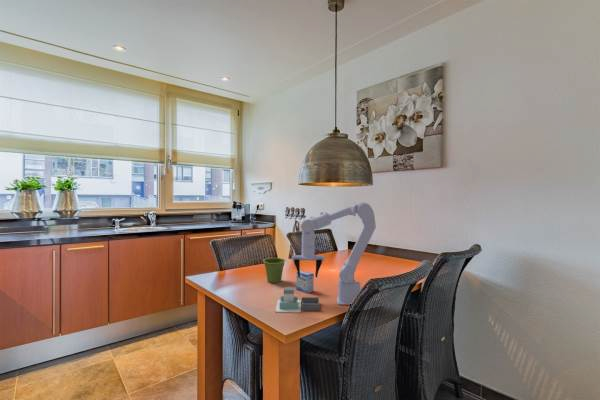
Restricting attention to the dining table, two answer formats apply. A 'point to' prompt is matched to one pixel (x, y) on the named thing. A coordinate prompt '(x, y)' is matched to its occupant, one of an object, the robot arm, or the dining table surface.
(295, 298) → the port
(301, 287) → the medicine box
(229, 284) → the dining table surface
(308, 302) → the grey arch stand
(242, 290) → the dining table surface
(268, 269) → the plant pot
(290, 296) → the plug
